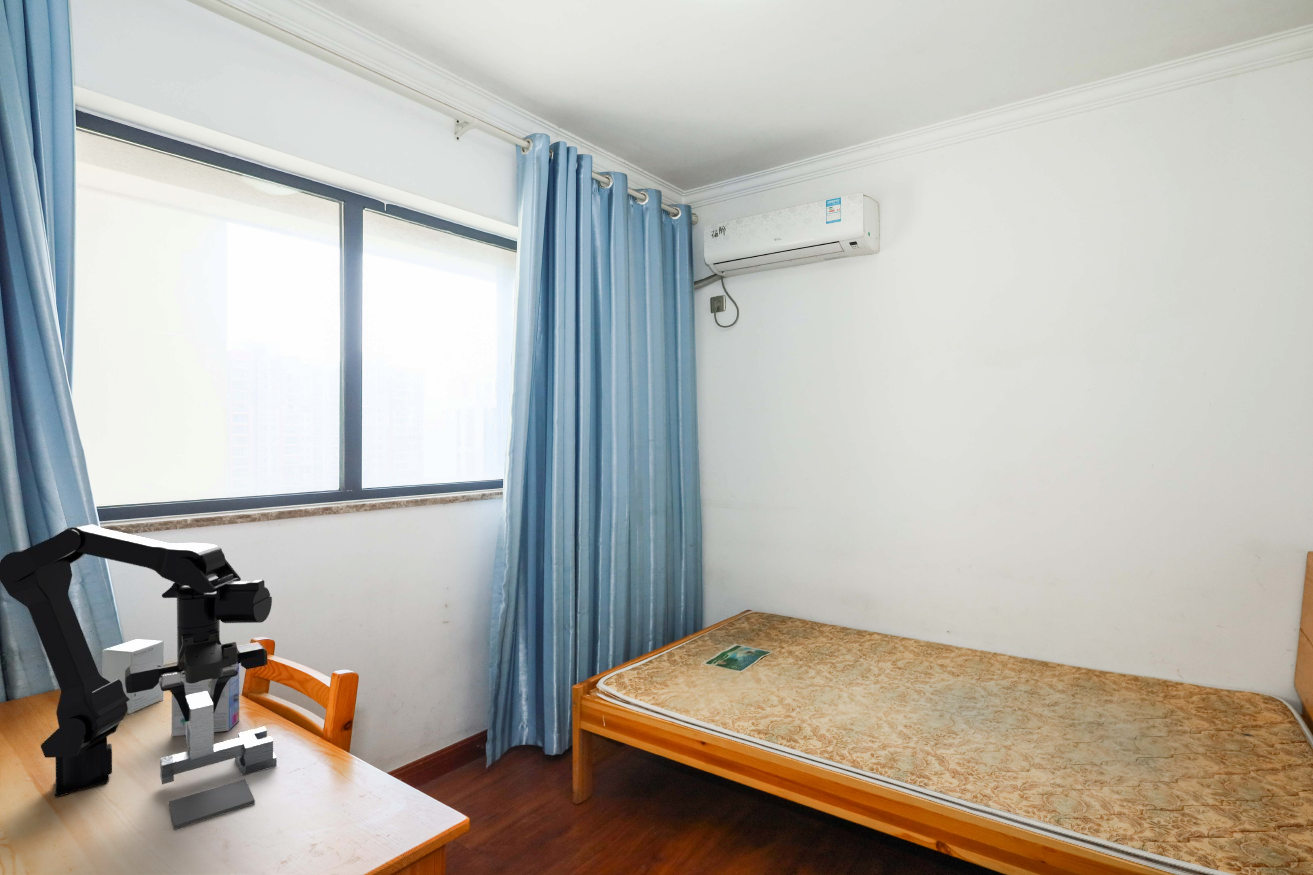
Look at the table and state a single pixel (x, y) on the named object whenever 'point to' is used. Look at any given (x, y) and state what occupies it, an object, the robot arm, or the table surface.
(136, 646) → the supplement box
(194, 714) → the brushed aluminum pillar
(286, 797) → the table surface
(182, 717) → the ink cartridge box
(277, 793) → the table surface
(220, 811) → the mat
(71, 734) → the robot arm
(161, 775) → the vise
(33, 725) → the table surface
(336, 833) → the table surface
